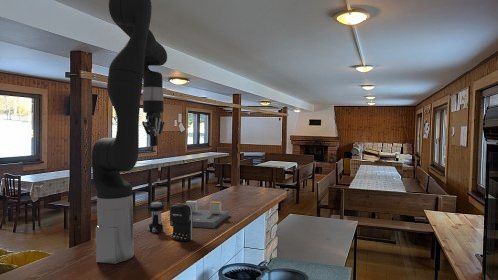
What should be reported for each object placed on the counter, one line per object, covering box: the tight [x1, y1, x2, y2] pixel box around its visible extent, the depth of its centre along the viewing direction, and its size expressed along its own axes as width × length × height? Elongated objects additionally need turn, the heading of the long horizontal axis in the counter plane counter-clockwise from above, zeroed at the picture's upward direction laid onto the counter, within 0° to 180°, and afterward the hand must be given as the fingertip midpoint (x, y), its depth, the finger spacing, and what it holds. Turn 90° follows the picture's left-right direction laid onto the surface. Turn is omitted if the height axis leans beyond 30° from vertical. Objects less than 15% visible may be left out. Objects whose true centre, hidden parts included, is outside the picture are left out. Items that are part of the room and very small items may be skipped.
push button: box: [147, 201, 165, 234], centre depth 123 cm, size 7×5×10 cm
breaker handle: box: [209, 200, 223, 214], centre depth 139 cm, size 2×4×4 cm, turn 76°
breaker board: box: [169, 200, 230, 229], centre depth 137 cm, size 18×17×6 cm
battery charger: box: [169, 203, 193, 242], centre depth 113 cm, size 7×4×11 cm, turn 64°
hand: (154, 146), depth 135 cm, fingers closed
